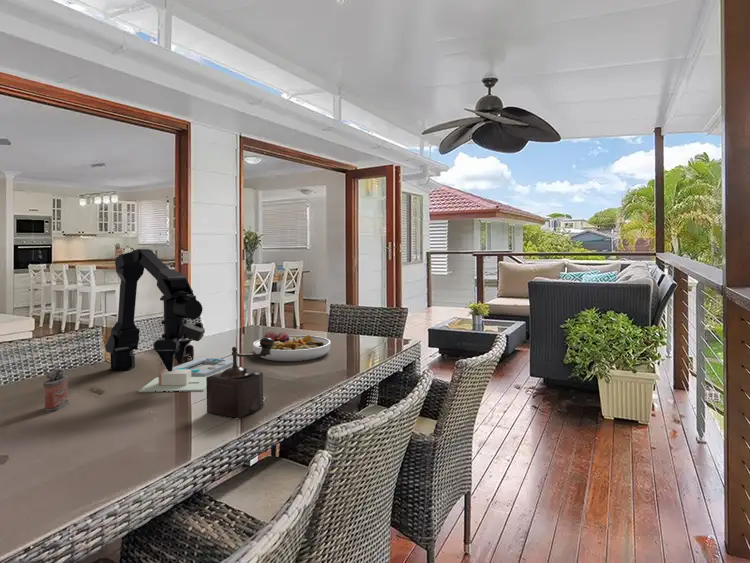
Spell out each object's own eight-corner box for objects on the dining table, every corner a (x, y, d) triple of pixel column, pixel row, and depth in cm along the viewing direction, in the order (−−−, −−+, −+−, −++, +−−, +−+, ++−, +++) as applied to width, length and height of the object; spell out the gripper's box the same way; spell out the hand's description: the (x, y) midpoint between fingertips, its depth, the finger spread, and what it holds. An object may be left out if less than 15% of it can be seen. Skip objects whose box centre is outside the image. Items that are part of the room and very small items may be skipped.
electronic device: (200, 356, 178) (236, 359, 174) (200, 362, 178) (236, 365, 174) (166, 368, 161) (205, 372, 156) (166, 375, 161) (205, 379, 157)
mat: (138, 392, 140) (138, 390, 140) (156, 379, 153) (156, 377, 153) (203, 391, 141) (203, 389, 141) (214, 378, 155) (214, 376, 155)
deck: (186, 385, 145) (186, 373, 145) (158, 385, 144) (158, 373, 144) (191, 380, 150) (191, 369, 150) (164, 380, 149) (164, 369, 149)
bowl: (345, 352, 196) (345, 333, 195) (295, 367, 170) (295, 345, 170) (289, 343, 212) (289, 326, 211) (236, 356, 186) (236, 336, 186)
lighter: (58, 402, 130) (57, 365, 129) (72, 402, 130) (70, 365, 130) (40, 412, 122) (39, 373, 121) (54, 412, 122) (53, 373, 122)
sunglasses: (198, 361, 178) (196, 348, 177) (163, 369, 172) (161, 355, 171) (191, 355, 187) (189, 343, 186) (158, 363, 181) (156, 350, 180)
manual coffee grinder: (239, 420, 118) (239, 347, 117) (205, 413, 123) (204, 343, 122) (278, 401, 132) (277, 336, 131) (245, 396, 137) (245, 333, 136)
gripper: (192, 320, 137) (193, 375, 138) (209, 311, 156) (210, 359, 157) (152, 321, 136) (153, 375, 137) (173, 312, 155) (174, 360, 156)
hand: (175, 367), depth 147 cm, fingers open, 9 cm apart
